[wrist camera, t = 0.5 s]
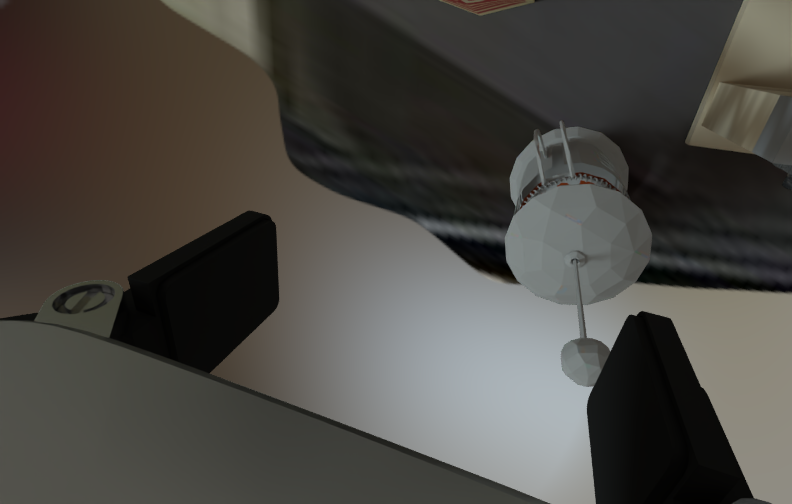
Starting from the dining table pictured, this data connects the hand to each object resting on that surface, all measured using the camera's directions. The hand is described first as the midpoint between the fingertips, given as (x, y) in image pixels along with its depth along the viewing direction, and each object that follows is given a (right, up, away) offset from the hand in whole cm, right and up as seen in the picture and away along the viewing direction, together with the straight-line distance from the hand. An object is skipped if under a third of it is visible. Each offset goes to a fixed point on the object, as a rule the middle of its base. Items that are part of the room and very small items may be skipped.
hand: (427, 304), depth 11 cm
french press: (+14, +8, +25) cm, 30 cm away
